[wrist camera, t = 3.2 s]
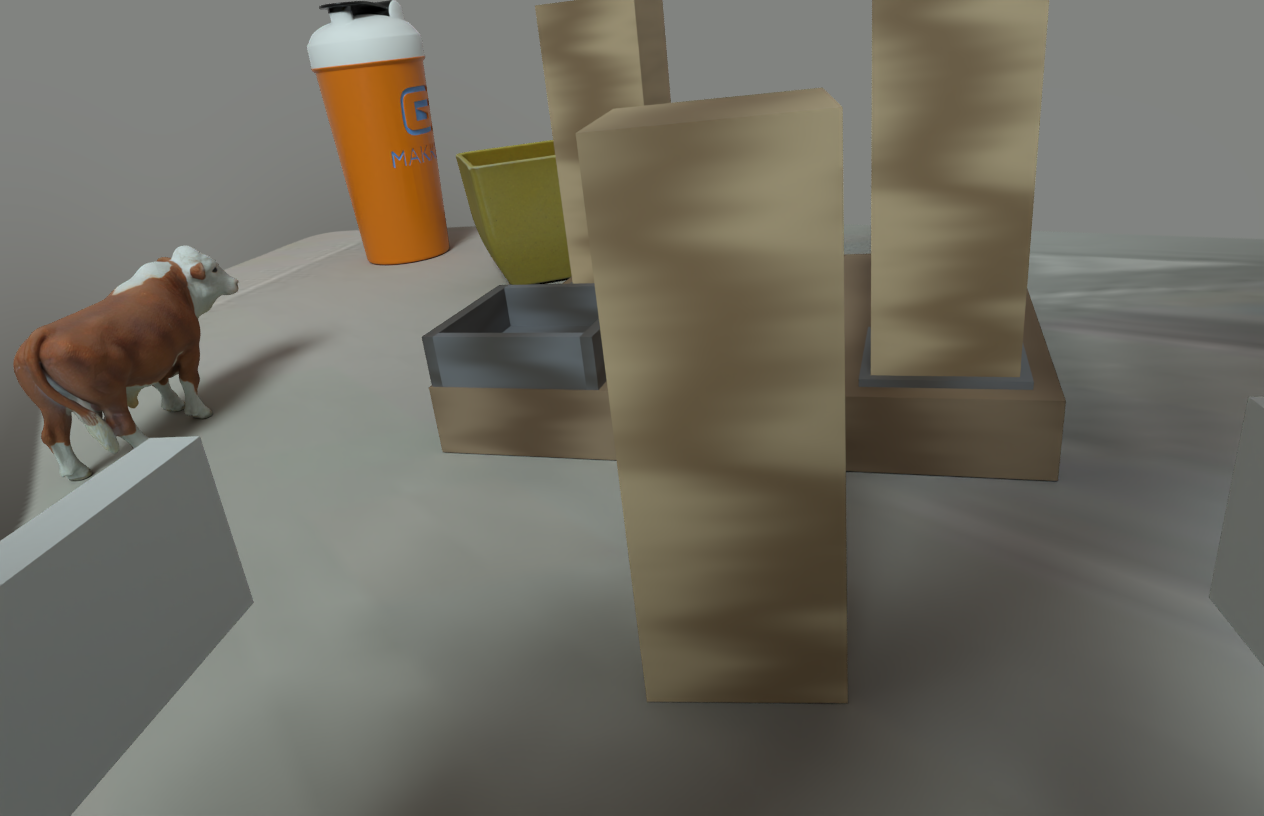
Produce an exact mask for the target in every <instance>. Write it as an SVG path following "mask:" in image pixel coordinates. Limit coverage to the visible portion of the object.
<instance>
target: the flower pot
mask: <svg viewBox="0 0 1264 816" xmlns="http://www.w3.org/2000/svg"><path fill="white" fill-rule="evenodd" d="M456 159H457V162H458V166H459V170H460V173H461V177H462V181H463V184H464V188H465V192H466V195H467V199H468V203H469V206H470V210H471V214H472V217H473V220H474V222H475V225H476V228H477V230H478V232H479V235H480V237H481V239H482V241H483V243H484V245H485V246H486V248H487V250H488V252H489V253H490V255H491V257H492V258H493V260H494V261H495V263H496V264H497V266H498V267H499V268H500V270H501V271H502V273H503V274H504V276H505V277H506V279H507V280H508V281H509V283H510V284H511V285H530V284H536V283H541V282H547V281H553V280H559V279H565V278H570V277H571V276H572V274H571V267H570V260H569V252H568V245H567V237H566V230H565V223H564V215H563V208H562V201H561V193H560V186H559V178H558V171H557V164H556V156H555V149H554V142H553V140H550V141H542V142H535V143H528V144H521V145H513V146H506V147H499V148H492V149H484V150H477V151H471V152H464V153H459V154H457V155H456Z"/></svg>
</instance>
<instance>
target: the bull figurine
mask: <svg viewBox="0 0 1264 816" xmlns="http://www.w3.org/2000/svg"><path fill="white" fill-rule="evenodd" d="M237 284H238V280H237V279H235V278H233V277H231V276H230V275H228V274H227V273H226V272H225V271H224V270H223V269H222V268H220V266H219V264H218V263H217V262H216V260H214V259H213V258H211V257H209V256H207V255H204V254H202V253H200V252H198V251H197V250H196V249H194V248H191V247H190V246H180V247H178V248H177V249H176V250H175V251H174V253H173V256H172V258H168V257H162V258H159V259H158V260H157V262H151V263H147V264H145V265H143V266H142V267H141V268H139V270H138V271H137V272H136V273H135V275H134V276H133V277H132V278H131V279H130V280H128V281H126V282H124V283H123V284H121V285H119V286H118V287H117V288H115V289H114V290H113V291H112V292H111V293H110V294H109V295H108V296H107V297H106V298H105V299H104V300H102V301H100V302H98V303H96V304H94V305H92V306H89V307H87V308H85V309H82V310H80V311H78V312H76V313H74V314H71V315H69V316H66V317H64V318H62V319H59V320H57V321H55V322H52V323H50V324H48V325H44V326H42V327H39V328H37V329H36V330H35V331H33V332H32V334H31V335H30V336H29V338H28V339H26V340H25V341H24V343H23V344H22V345H21V346H20V348H19V349H18V351H17V353H16V355H15V358H14V372H15V374H16V377H17V380H18V382H19V384H20V385H21V387H22V388H23V390H24V391H25V393H26V394H27V395H28V396H29V397H30V398H31V400H32V401H33V402H34V403H35V404H36V405H37V406H38V407H39V408H40V410H41V412H42V415H43V418H44V428H43V431H42V435H41V439H42V441H43V443H44V444H46V445H47V446H48V447H49V448H50V449H51V451H52V453H53V454H54V455H55V457H56V459H57V461H58V463H59V465H60V475H61V476H62V477H65V476H66V477H67V478H68V479H69V480H82V479H85V478H87V477H89V476H90V475H91V474H92V471H91V470H90V469H89V468H88V467H87V466H86V465H84V464H83V463H82V462H80V461H79V459H78V458H77V457H76V455H75V454H74V452H73V450H72V447H71V444H70V429H71V423H72V415H71V412H74V414H75V415H76V416H77V417H78V419H80V420H81V421H82V422H83V423H84V424H85V426H86V428H87V430H88V432H89V433H90V434H91V435H92V437H94V438H95V439H97V440H98V441H99V442H100V443H101V445H102V446H103V447H104V448H105V449H106V450H108V451H110V452H111V453H113V454H116V453H117V452H118V451H119V449H120V446H119V443H118V441H117V438H116V436H119V437H121V438H123V439H124V440H126V441H127V442H128V443H130V444H131V445H132V447H133V449H135V448H136V447H137V446H139V445H140V444H142V443H143V442H145V441H146V440H148V439H149V438H148V437H147V436H145V435H144V434H143V433H142V432H141V431H140V430H139V428H138V427H137V425H136V424H135V423H134V421H133V419H132V417H131V414H130V412H129V410H128V406H129V407H130V408H136V407H137V405H138V399H137V396H138V394H139V392H140V390H141V389H143V388H144V387H148V386H151V385H152V386H154V387H155V388H156V389H158V391H159V392H160V393H161V395H162V404H161V407H162V408H163V409H164V410H166V409H167V411H180V410H182V409H184V408H185V410H184V412H185V414H186V415H188V416H190V415H193V417H195V418H207V417H210V416H211V415H212V414H213V412H212V411H211V410H210V409H209V408H208V407H206V406H205V405H204V404H203V402H202V401H201V400H200V398H199V396H198V393H197V389H198V385H199V381H200V377H199V374H198V365H199V360H200V350H199V341H200V326H199V321H198V318H199V316H200V315H202V314H204V313H206V312H207V311H209V310H210V309H211V307H212V305H213V304H214V302H215V301H216V299H217V298H218V297H220V296H221V295H231V294H234V293H236V292H237V291H238V285H237ZM177 374H179V380H180V383H181V385H182V387H183V390H184V393H185V401H186V402H184V401H182V400H181V399H180V398H179V397H178V395H177V394H176V393H175V392H174V391H173V390H172V389H171V387H170V384H169V379H168V378H171V377H173V376H175V375H177ZM102 411H103V413H104V415H105V417H104V419H102Z"/></svg>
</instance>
